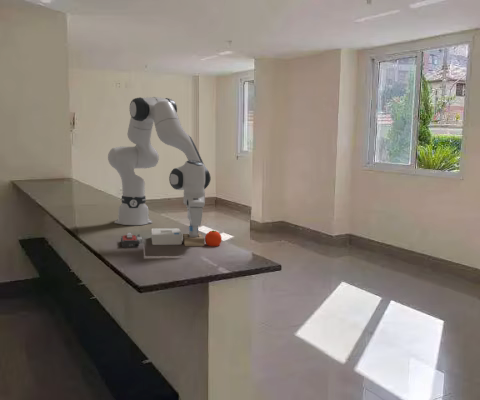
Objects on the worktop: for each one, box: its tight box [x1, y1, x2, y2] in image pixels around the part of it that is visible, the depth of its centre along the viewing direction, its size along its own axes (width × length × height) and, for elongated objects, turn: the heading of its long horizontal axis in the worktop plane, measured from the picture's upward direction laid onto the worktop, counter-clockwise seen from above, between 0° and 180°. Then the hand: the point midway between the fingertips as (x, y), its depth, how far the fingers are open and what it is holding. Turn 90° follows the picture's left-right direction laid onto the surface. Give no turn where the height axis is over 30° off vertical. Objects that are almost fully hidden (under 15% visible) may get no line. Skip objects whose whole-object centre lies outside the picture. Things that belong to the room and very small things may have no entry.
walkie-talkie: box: [120, 232, 143, 248], centre depth 208 cm, size 9×4×20 cm
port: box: [150, 227, 183, 246], centre depth 209 cm, size 14×12×5 cm
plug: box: [188, 225, 199, 237], centre depth 206 cm, size 4×4×7 cm
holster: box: [182, 233, 205, 247], centre depth 206 cm, size 10×8×4 cm
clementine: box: [204, 229, 222, 247], centre depth 205 cm, size 8×7×7 cm
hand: (193, 232), depth 206 cm, fingers open, 8 cm apart
